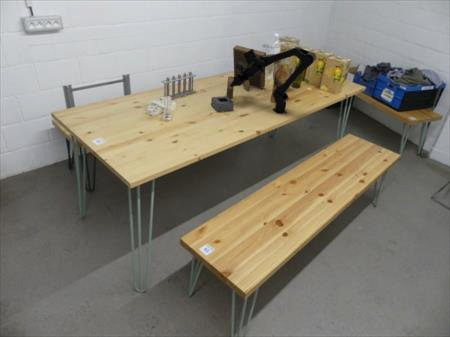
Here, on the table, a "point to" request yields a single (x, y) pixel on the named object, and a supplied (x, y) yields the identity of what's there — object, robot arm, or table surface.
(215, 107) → the bore block
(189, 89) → the test tube rack
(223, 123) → the table surface
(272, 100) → the pancake mix bag
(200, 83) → the table surface
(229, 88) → the walnut pin
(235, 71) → the photo frame
